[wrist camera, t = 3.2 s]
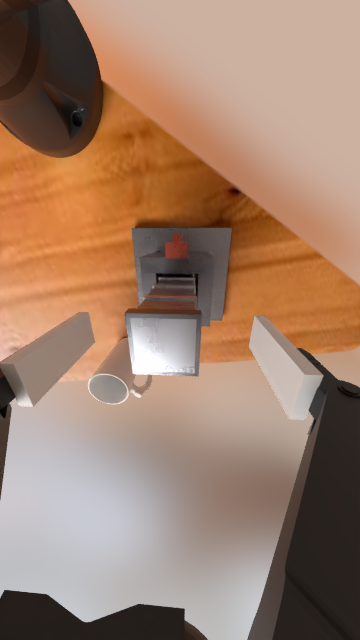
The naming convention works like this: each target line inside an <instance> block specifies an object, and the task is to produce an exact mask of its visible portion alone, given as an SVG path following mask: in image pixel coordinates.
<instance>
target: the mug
mask: <svg viewBox="0 0 360 640" xmlns="http://www.w3.org/2000/svg"><path fill="white" fill-rule="evenodd" d="M135 375H136V374H133V371H132V363H131V356H130V349H129V342H128V338H123V339H121V340H120V341H119V342H118V343H117V344H116V346H115V347H114V348H113V349H112V351H111V352H110V353H109V355H108V356H107V357H106V359H105V360H104V361H103V363H102V364H101V365H100V367H99V368H98V369H97V371H96V372H95V373H94V375H93V376H92V377H91V378H90V380H89V382H88V389H89V391H90V393H91V394H92V396H93V397H95V398H96V399H97V400H99V401H101V402H103V403H106V404H119V403H122V402H123V401H125V400H126V399H127V397H128V395H129V392H132V393H134V395H135V396H137V397H139V398H140V397H141V396H142V395H143V394H144V393H145V392H146V391H147V390H148V389H149V387H150V385H151V382H152V375H149V374H146V377H147V380H146V384H145V385H144V386H142V387H137V386H135V385H134V383H133V381H134V378H135Z"/></svg>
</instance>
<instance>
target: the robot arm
mask: <svg viewBox="0 0 360 640" xmlns="http://www.w3.org/2000/svg"><path fill="white" fill-rule="evenodd" d="M101 110H102V82H101V75H100V70H99V66H98V62H97V59H96V55H95V53H94V50H93V47H92V45H91V42H90V41H89V38H88V36H87V34H86V32H85V30H84V28H83V26H82V24H81V22H80V20H79V18H78V17H77V15H76V13H75V11H74V10H73V8H72V6H71V5H70V3H69V2H68V0H0V122H1V124H2V125H3V126H4V127H5V128H6V129H7V130H8V131H9V132H10V133H11V134H13V135H14V136H15V137H16V138H17V139H19V140H20V141H21V142H23V143H24V144H26V145H28V146H30V147H31V148H33V149H35V150H36V151H38V152H40V153H42V154H45V155H47V156H51V157H57V158H62V157H69V156H72V155H75V154H77V153H78V152H80V151H81V150H83V149H84V148H85V147H86V146H87V145H88V143H89V142H90V141H91V139H92V138H93V136H94V134H95V132H96V129H97V127H98V124H99V120H100V116H101ZM94 342H95V340H94V335H93V331H92V326H91V322H90V317H89V313H88V312H79V313H77V314H76V315H74V316H72V317H71V318H69V319H68V320H66V321H64V322H63V323H61V324H60V325H58V326H57V327H55V328H53V329H52V330H50V331H49V332H47V333H46V334H44V335H42V336H41V337H39V338H38V339H36V340H35V341H33V342H31V343H30V344H28V345H26V346H25V347H23V348H22V349H20V350H19V351H17V352H15V353H14V354H12V355H10V356H9V357H7V358H6V359H4V360H3V361H1V362H0V498H1V490H2V481H3V473H4V466H5V457H6V450H7V442H8V434H9V425H10V417H11V405H10V404H9V403H10V402H11V401H12V400H13V399H14V398H16V400H17V402H18V404H19V406H29V407H34V405H35V404H36V403H37V402H38V401H39V400H40V399H41V398H42V397H43V396H44V395H45V394H46V393H47V392H48V391H49V390H50V389H51V388H52V387H53V385H54V384H55V383H56V382H57V381H58V380H59V379H60V378H61V377H62V376H63V375H64V374H65V373H66V372H67V371H68V370H69V369H70V368H71V367H72V366H73V365H74V363H75V362H76V361H77V360H78V359H79V358H80V357H81V356H82V355H83V354H84V353H85V352H86V351H87V350H88V349H89V348H90V347H91V346H92V345H93V344H94ZM249 348H250V349H251V351H252V353H253V355H254V357H255V358H256V360H257V362H258V364H259V366H260V367H261V369H262V371H263V373H264V375H265V377H266V378H267V380H268V382H269V384H270V386H271V387H272V389H273V391H274V393H275V394H276V396H277V398H278V400H279V402H280V404H281V405H282V407H283V409H284V411H285V413H286V414H287V416H288V418H289V419H293V420H305V419H306V417H307V414H308V412H310V413H311V415H312V416H313V417H314V421H313V423H312V425H311V427H310V429H309V432H308V435H309V436H308V440H307V443H306V446H305V450H304V453H303V457H302V460H301V464H300V467H299V471H298V474H297V478H296V481H295V484H294V488H293V491H292V495H291V498H290V502H289V505H288V509H287V512H286V516H285V519H284V522H283V526H282V530H281V533H280V537H279V540H278V543H277V547H276V550H275V554H274V557H273V561H272V564H271V567H270V571H269V574H268V578H267V581H266V585H265V588H264V592H263V595H262V598H261V602H260V605H259V608H258V610H257V613H256V616H255V618H254V621H253V624H252V627H251V630H250V633H249V636H248V640H360V388H359V387H358V386H356V385H353V384H351V383H349V382H345V381H340V380H338V379H337V378H335V377H334V376H333V375H332V374H331V373H330V372H329V371H328V370H327V369H326V368H325V367H323V365H321V363H320V362H318V361H317V360H316V359H315V358H314V357H313V356H312V355H311V354H310V353H308V352H307V351H305V350H303V349H301V348H296V347H295V346H294V345H293V344H292V343H291V342H290V341H289V340H288V339H287V338H286V337H285V336H284V335H283V334H282V333H281V332H280V331H279V330H278V329H277V328H276V327H275V326H274V325H273V324H272V323H271V322H270V321H269V320H268V319H267V318H266V317H265V316H254V322H253V327H252V333H251V338H250V343H249ZM184 611H185V609H182V608H172V607H162V606H153V605H144V604H137V605H135V606H132V607H129V608H127V609H124V610H121V611H119V612H116V613H113V614H111V615H108V616H105V617H102V618H100V619H97V620H94V621H92V622H83V621H81V620H80V619H78V618H77V617H76V616H74V615H73V614H72V613H71V612H69V611H68V610H67V609H65V608H64V607H63V606H62V605H60V604H59V603H58V602H56V601H55V600H54V599H52V598H51V597H50V596H48V595H47V594H38V593H28V592H19V591H10V590H4V592H3V594H2V596H1V598H0V640H208V639H207V638H206V637H205V636H204V635H203V634H202V633H201V632H200V631H199V630H198V629H197V628H195V627H194V626H193V625H191V624H189V623H188V622H187V621H185V620H184V613H185V612H184Z"/></svg>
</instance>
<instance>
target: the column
mask: <svg viewBox="0 0 360 640" xmlns="http://www.w3.org/2000/svg"><path fill="white" fill-rule="evenodd" d="M152 288H153V289H152V290H151V292H150V293H149V294H148V295H144V296H143V297H142V298H143V302H142V303H141V304H140V306H139V307H138V308H137V309H128V310H127V311H126V312H125V320H126V327H127V334H128V342H129V349H130V356H131V363H132V371H133V374H149V375H176V376H199V359H200V341H201V322H202V312H201V310H197V296H195V293H196V285H195V277H194V273H164V275H163V276H162V277H159V281H158V282H157V284H153V285H152Z"/></svg>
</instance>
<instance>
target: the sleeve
mask: <svg viewBox="0 0 360 640" xmlns="http://www.w3.org/2000/svg"><path fill="white" fill-rule="evenodd" d="M231 233H232V228H132V237H133V247H134V257H135V267H136V277H137V288H138V298H139V306H140V304H141V303H142V302H143V298H142V297H143V296H144V295H148V294H149V293H150V292H151V290H152V289H153V288H152V285H153V284H157V282H158V281H159V277H162V276H163V275H164V273H194V277H195V285H196V293H195V296H197V310H201V312H202V322H201V326H210V320H219V321H222V317H223V308H224V298H225V289H226V280H227V270H228V261H229V251H230V242H231Z"/></svg>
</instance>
